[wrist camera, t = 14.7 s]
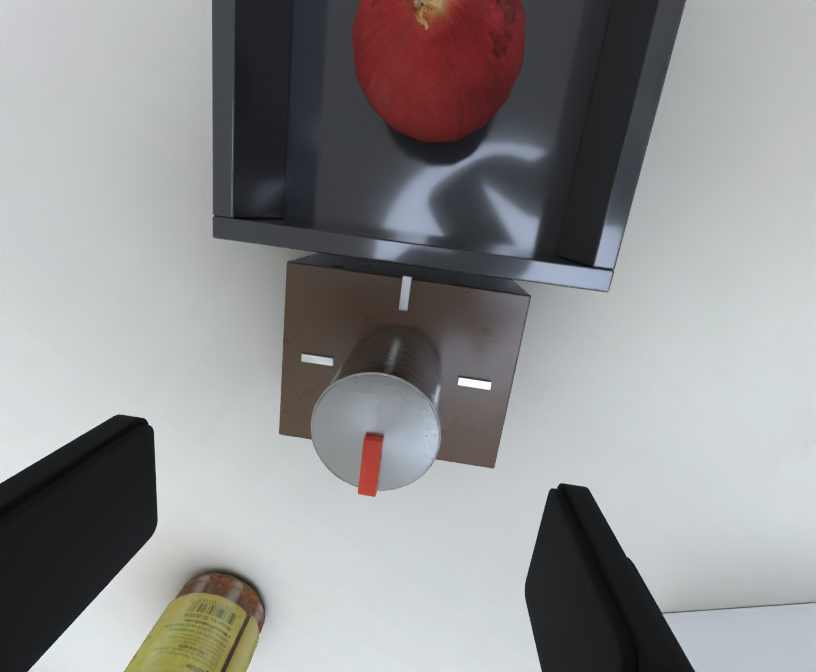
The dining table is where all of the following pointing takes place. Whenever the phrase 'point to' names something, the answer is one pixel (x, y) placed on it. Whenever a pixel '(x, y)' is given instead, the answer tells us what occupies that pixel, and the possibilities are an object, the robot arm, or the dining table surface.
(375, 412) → the metal rotary knob
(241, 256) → the dining table surface
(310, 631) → the dining table surface
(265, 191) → the dark grey open box
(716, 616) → the milk
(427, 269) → the block
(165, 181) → the dining table surface
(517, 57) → the red round fruit
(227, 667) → the sauce bottle
